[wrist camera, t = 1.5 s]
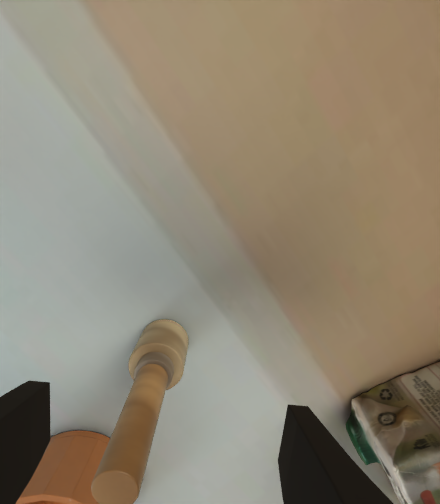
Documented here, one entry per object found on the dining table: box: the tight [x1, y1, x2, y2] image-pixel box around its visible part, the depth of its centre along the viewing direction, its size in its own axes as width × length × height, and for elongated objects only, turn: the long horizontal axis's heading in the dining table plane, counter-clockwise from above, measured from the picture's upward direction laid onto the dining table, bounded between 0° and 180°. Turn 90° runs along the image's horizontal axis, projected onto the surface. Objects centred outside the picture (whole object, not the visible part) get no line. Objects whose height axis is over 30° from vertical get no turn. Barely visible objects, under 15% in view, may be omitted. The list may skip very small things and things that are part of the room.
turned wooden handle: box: [91, 319, 189, 504], centre depth 15 cm, size 3×3×10 cm
